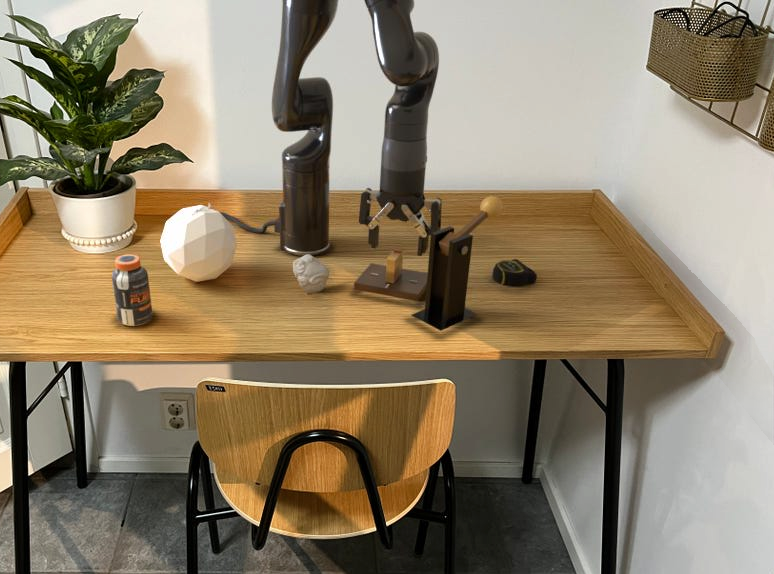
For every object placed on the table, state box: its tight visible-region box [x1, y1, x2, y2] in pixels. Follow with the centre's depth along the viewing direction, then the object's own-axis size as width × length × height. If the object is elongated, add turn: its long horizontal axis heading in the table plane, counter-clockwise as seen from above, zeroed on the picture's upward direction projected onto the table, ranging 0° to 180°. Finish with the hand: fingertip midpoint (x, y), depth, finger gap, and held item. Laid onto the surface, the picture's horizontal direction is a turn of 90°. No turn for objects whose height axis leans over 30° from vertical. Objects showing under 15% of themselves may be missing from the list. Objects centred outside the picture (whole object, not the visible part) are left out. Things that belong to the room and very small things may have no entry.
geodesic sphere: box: [159, 204, 237, 283], centre depth 144 cm, size 15×14×14 cm
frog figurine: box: [292, 254, 330, 295], centre depth 139 cm, size 6×7×7 cm
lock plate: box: [353, 262, 428, 302], centre depth 140 cm, size 12×9×3 cm
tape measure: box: [491, 258, 538, 288], centre depth 142 cm, size 7×7×4 cm
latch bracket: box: [411, 225, 478, 332], centre depth 127 cm, size 9×7×16 cm
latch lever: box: [439, 195, 504, 256], centre depth 125 cm, size 13×4×4 cm, turn 127°
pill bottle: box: [111, 254, 154, 327], centre depth 130 cm, size 6×6×11 cm
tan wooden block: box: [385, 248, 404, 284], centre depth 139 cm, size 5×2×5 cm, turn 155°
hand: (397, 250), depth 138 cm, fingers open, 8 cm apart
